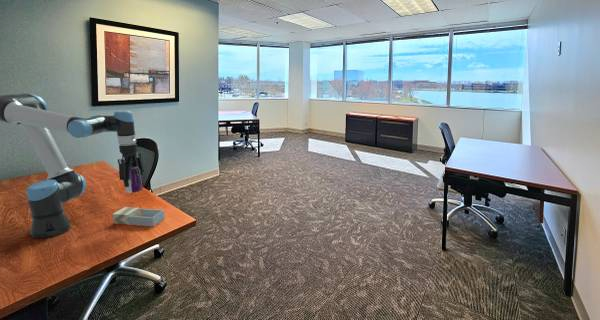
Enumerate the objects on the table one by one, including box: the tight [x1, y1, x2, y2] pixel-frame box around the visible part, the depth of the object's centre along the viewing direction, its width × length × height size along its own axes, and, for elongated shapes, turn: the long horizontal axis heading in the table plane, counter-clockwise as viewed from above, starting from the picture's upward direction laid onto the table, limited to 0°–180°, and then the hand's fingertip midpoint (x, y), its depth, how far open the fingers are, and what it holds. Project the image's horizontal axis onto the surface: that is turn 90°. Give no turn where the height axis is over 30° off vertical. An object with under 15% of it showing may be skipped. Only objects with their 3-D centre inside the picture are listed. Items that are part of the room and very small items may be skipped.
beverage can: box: [129, 165, 143, 194], centre depth 158 cm, size 7×7×12 cm
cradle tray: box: [128, 208, 166, 227], centre depth 162 cm, size 13×10×4 cm
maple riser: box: [112, 206, 141, 225], centre depth 163 cm, size 8×9×5 cm
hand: (134, 190), depth 159 cm, fingers closed on beverage can, 7 cm apart
